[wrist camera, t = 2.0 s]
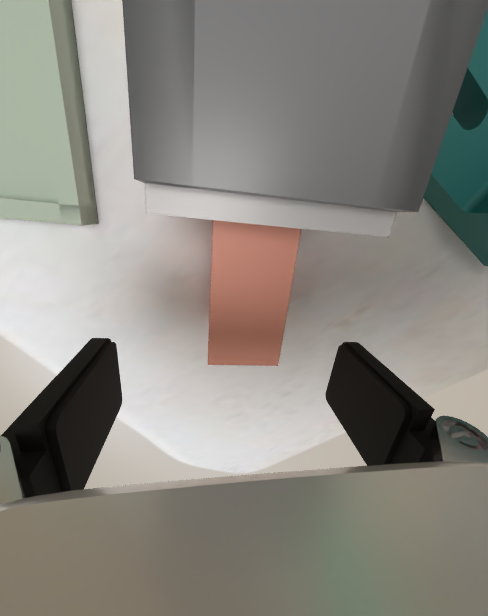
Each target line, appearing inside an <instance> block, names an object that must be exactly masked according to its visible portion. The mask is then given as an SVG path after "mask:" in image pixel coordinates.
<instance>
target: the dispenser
mask: <svg viewBox="0 0 488 616" xmlns="http://www.w3.org/2000/svg"><path fill="white" fill-rule="evenodd" d="M122 2H123V17H124V32H125V47H126V62H127V77H128V93H129V108H130V123H131V138H132V153H133V168H134V179H136V180H138V181H141V182H144V183H145V199H146V213H147V214H157V215H167V216H177V217H187V218H197V219H207V220H217V221H227V222H237V223H248V224H258V225H268V226H278V227H288V228H298V229H308V230H318V231H328V232H339V233H349V234H359V235H369V236H379V237H389V234H390V231H391V228H392V225H393V221H394V218H395V215H396V212H418V211H419V208H420V205H421V202H422V199H423V196H424V193H425V190H426V188H427V185H428V182H429V179H430V176H431V173H432V170H433V167H434V164H435V161H436V158H437V155H438V153H439V150H440V147H441V144H442V141H443V138H444V135H445V132H446V129H447V126H448V123H449V120H450V117H451V115H452V112H453V109H454V106H455V103H456V100H457V97H458V94H459V91H460V88H461V85H462V82H463V80H464V77H465V74H466V71H467V68H468V65H469V62H470V59H471V56H472V53H473V50H474V47H475V44H476V42H477V39H478V36H479V33H480V30H481V27H482V24H483V21H484V18H485V15H486V12H487V9H488V0H122Z"/></svg>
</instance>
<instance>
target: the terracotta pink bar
mask: <svg viewBox="0 0 488 616" xmlns="http://www.w3.org/2000/svg"><path fill="white" fill-rule="evenodd" d="M300 234H301V229H298V228H288V227H278V226H268V225H258V224H248V223H237V222H227V221H217V220H213V239H212V265H211V290H210V316H209V342H208V365H270V366H278V363H279V357H280V351H281V345H282V339H283V333H284V328H285V322H286V316H287V310H288V304H289V298H290V292H291V286H292V281H293V275H294V269H295V263H296V257H297V251H298V245H299V240H300Z"/></svg>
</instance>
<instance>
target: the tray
mask: <svg viewBox="0 0 488 616" xmlns="http://www.w3.org/2000/svg"><path fill="white" fill-rule="evenodd" d="M0 218H7V219H18V220H29V221H40V222H52V223H63V224H74V225H88V224H98V216H97V208H96V200H95V192H94V184H93V176H92V168H91V159H90V151H89V143H88V135H87V127H86V119H85V111H84V103H83V95H82V87H81V79H80V70H79V62H78V54H77V46H76V38H75V30H74V22H73V14H72V6H71V0H0Z"/></svg>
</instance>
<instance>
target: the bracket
mask: <svg viewBox="0 0 488 616" xmlns="http://www.w3.org/2000/svg"><path fill="white" fill-rule="evenodd" d="M453 115H454V116H453ZM453 115H451V117H450V120H449V123H448V126H447V129H446V132H445V135H444V138H443V141H442V144H441V147H440V150H439V153H438V155H437V158H436V161H435V164H434V167H433V170H432V173H431V176H430V179H429V182H428V185H427V188H426V190H425V193H424V196H423V198H424V199H425V200H426V201H427V202H428V203H429V205H430V206H431V207H432V208H433V209H434V210H435V211H436V212H437V213H438V215H439V216H440V217H441V218H442V219H443V220H444V221H445V222H446V223H447V225H448V226H449V227H450V228H451V229H452V230H453V231H454V232H455V233H456V235H457V236H458V237H459V238H460V239H461V240H462V241H463V242H464V244H465V245H466V246H467V247H468V248H469V249H470V250H471V251H472V252H473V254H474V255H475V256H476V257H477V258H478V259H479V260H480V261H481V262H482V264H483V265H484V266H488V9H487V12H486V15H485V18H484V21H483V24H482V27H481V30H480V33H479V36H478V39H477V42H476V44H475V47H474V50H473V53H472V56H471V59H470V62H469V65H468V68H467V71H466V74H465V77H464V80H463V82H462V85H461V88H460V91H459V94H458V97H457V100H456V103H455V106H454V109H453Z"/></svg>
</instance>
